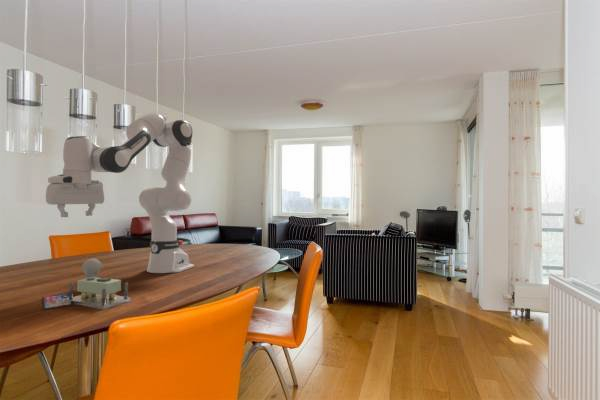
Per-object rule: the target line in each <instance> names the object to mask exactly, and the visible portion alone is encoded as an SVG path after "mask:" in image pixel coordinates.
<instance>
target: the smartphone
mask: <svg viewBox="0 0 600 400" xmlns="http://www.w3.org/2000/svg"><path fill="white" fill-rule="evenodd" d="M68 298H69V293H61V294H53V295H47V296H43V297H42V299H41V300H42V310H43V311H48V310H56V309H63V308H64V309H65V308H70V307H73V305H74V304H72V302H71V301H66V299H68Z"/></svg>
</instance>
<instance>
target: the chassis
mask: <svg viewBox="0 0 600 400" xmlns="http://www.w3.org/2000/svg"><path fill="white" fill-rule="evenodd" d="M68 286H69V288H68V294H69V298H68V299H66V301H71V302H72V304H73V305H79V306H84V307H87V308H93V309H99V310H107V309H109V308H112V307H116V306H119V305H122V304H125V303H128V302H131V301H132V300H131V298H132V297H129V295H128V294H129V282H124V289H123V292H124V295H117V292H115V293H112V294H108V295H106V288H103V289H102V294H95V293H87V292H80V293H81V295H75V296H74V283H73V282H69V285H68Z"/></svg>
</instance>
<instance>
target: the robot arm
mask: <svg viewBox="0 0 600 400" xmlns="http://www.w3.org/2000/svg"><path fill="white" fill-rule="evenodd" d="M125 129H126V130H125V133H126V138H127V140H126V141H125V142H124V143H122V144H121V145H115V146H107V147H105V146H104V147H102V146H99V145H98V144H96V143H95V142H93V141H92V140H91V139H90V137H89V136H83V135H80V136H69V137H67V138H66V139H65V140H64V143H63V150H62V151H63V154H62V159H63V164H64V165H63V168H62V173H60V174H58V175H54V176H49V177H48V178H47V182H48V183H49V184H48V185H47V186H46V191H45V201H46V203H47V204H48V205H57V207H56V208H57V209H58V210H59V212H60V218H68V217H69V211H66V210H65V208H66V205H87V207H88V209H87V210H85V216H86V217H92V216H93V211H94V209H95V208H96V204H97V205H101V204H102V205H103V204H104V202H105V193H104V184H103V183H102V182H101V181H100V180H99V179H98V180H96V179H95V180H93V179H92V172H95V173H115V174H121V173H124V172H125V171H126V170H127V169H128V168H129V166H130V164H131V162H132V160H133V159H134V158H136V156H137V155H139V154H140V153H141V152H142V151H143V150H145V148H146V147H147V146H149V145H150V143H152V142H153V143H154V144H155V145H156V146H157V147H159V148H160V147H161V148H166V147H168V153H167V156H166V158H165V161H164V164H163V165H162V166H163V167H162V169H161V171H160V172H161V173H160V175H161V177H162V178H163V180H164V181H165V182H166V184H165V186H164V187H149V188H146V189H143V190H142V191H141V192H140V194H139V196H138V201H139V204H140V206H141V208H142V209H144V210H145V211H146V214H147V215H148V217H149V221H150V226H151V228H150V229H151V240H150V241H149V242H150V243H149V247H150V252H149V260H148V264H147V265H148V266H147V267H146V268H147V269H146V272H148V273H150V274H151V273H152V274H167V273H168V274H169V273H181V272H184V271H186V270H188V269H191V268H193V267H195V264H193V263H190V258H189V255H188V253H187V252H185V251H184V250H182V248H180V245H181V246H182V245H183V244H184V241H183V240H178V238H177V237H178V236H177V235H178V225H177V222H176V221H175V220H173V219H172V218H171V216H170V215H169V212H180V211H184V210H185V211H186V210H187V209H188V208H189V207H190V206H191V203H192V196H191V194H190V193H191V192H190V191H188V190H187V187H186V183H185V181H186V177H187V175H188V174H187V173H188V169H189V166H190V163H191V157H192V150H191V148H190V146H189V145H190V144H191V143H192V138H193V128H192V125H191V124H190V123H189V122H188V121H187V120H183V119H177V120H173V121H169V122H166V120H165V118H164V117H163V116H162V115H161V114H159V113H157V112H151V113H148V114H145V115H142V116H141V117H138V118H137V119H135V120H134V121H131V122H130V124H128V126H126V128H125Z"/></svg>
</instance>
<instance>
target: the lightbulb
mask: <svg viewBox="0 0 600 400" xmlns="http://www.w3.org/2000/svg"><path fill="white" fill-rule="evenodd" d="M81 268H82V269H81V270H82V271H83V273H84V275H85V277H86V278H90V277H98V276H99V273H100V271H101V270H102V263H101V261H100V260H98V259H97V258H89V259H87V260H85V261H84V262H83V263H82V266H81ZM86 278H85V279H86Z"/></svg>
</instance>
